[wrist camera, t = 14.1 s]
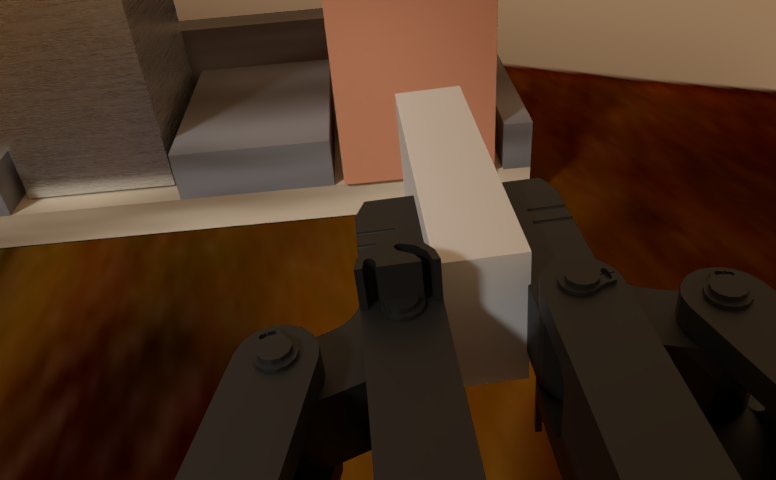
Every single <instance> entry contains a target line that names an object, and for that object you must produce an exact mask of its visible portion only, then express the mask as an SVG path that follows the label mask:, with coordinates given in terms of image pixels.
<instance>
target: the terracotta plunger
mask: <svg viewBox="0 0 776 480" xmlns="http://www.w3.org/2000/svg"><path fill="white" fill-rule="evenodd" d="M322 7H323V15H324V23H325V31H326V39H327V47H328V55H329V63H330V71H331V79H332V87H333V95H334V103H335V111H336V119H337V127H338V135H339V143H340V151H341V159H342V167H343V175H344V184H345V185H347V184H358V183H368V182H379V181H390V180H400V179H403V173H402V162H401V152H400V142H399V132H398V122H397V112H396V102H395V94H397V93H405V92H413V91H421V90H429V89H437V88H445V87H453V86H460V88H461V90H462V93H463V95H464V97H465V99H466V102H467V104H468V106H469V109H470V111H471V113H472V116H473V118H474V120H475V122H476V125H477V127H478V129H479V132H480V134H481V136H482V139H483V141H484V143H485V145H486V148H487V150H488V152H489V155H490V157H491V159H492V162H493V164H494V161H495V117H496V72H497V27H498V24H497V23H498V0H322Z"/></svg>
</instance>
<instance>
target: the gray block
mask: <svg viewBox="0 0 776 480" xmlns="http://www.w3.org/2000/svg"><path fill="white" fill-rule="evenodd" d="M194 89H195V85H194V81H193V77H192V72H191V68H190V64H189V60H188V56H187V52H186V48H185V44H184V40H183V36H182V32H181V28H180V24H179V20H178V16H177V12H176V8H175V5H174V0H0V134H1V136H2V138H3V140H4V143H5V145H6V147H7V149H8V152H9V154H10V156H11V158H12V161H13V163H14V165H15V168H16V170H17V172H18V174H19V177H20V179H21V181H22V183H23V186H24V188H25V190H26V192H27V195H28V197H29V199H30V198H40V197H51V196H62V195H73V194H83V193H94V192H105V191H115V190H126V189H137V188H147V187H158V186H169V185H175V184H176V182H175V178H174V175H173V171H172V168H171V164H170V161H169V158H168V154H169V152H170V149H171V147H172V144H173V142H174V139H175V137H176V134H177V132H178V129H179V127H180V124H181V122H182V119H183V117H184V114H185V112H186V109H187V107H188V104H189V102H190V99H191V97H192V94H193V92H194Z"/></svg>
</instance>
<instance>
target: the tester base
mask: <svg viewBox="0 0 776 480" xmlns="http://www.w3.org/2000/svg"><path fill="white" fill-rule="evenodd" d="M179 24H180V28H181V32H182V36H183V40H184V44H185V48H186V52H187V56H188V60H189V64H190V68H191V72H192V77H193V81H194V85H195V89H194V92H193V94H192V97H191V99H190V102H189V104H188V107H187V109H186V112H185V114H184V117H183V119H182V122H181V124H180V127H179V129H178V132H177V134H176V137H175V139H174V142H173V144H172V147H171V149H170V152H169V154H168V158H169V161H170V164H171V168H172V171H173V175H174V178H175V182H176V184H175V185H169V186H158V187H147V188H137V189H126V190H115V191H105V192H94V193H83V194H73V195H62V196H51V197H40V198H30V199H29V197H28V195H27V192H26V190H25V188H24V186H23V183H22V181H21V179H20V177H19V174H18V172H17V170H16V168H15V165H14V163H13V161H12V158H11V156H10V154H9V152H8V149H7V147H6V145H5V143H4V140H3V138H2V136H1V134H0V248H7V247H17V246H28V245H38V244H49V243H60V242H70V241H81V240H91V239H102V238H113V237H123V236H134V235H145V234H155V233H166V232H176V231H187V230H198V229H208V228H219V227H229V226H240V225H251V224H261V223H272V222H282V221H293V220H304V219H314V218H325V217H335V216H346V215H357V213H358V211H359V210H360V208H361V206H362V205H363V203H364V202H366V201H374V200H381V199H389V198H397V197H405V193H404V183H403V179H400V180H390V181H379V182H368V183H358V184H347V185H345V184H344V175H343V167H342V159H341V151H340V143H339V135H338V127H337V119H336V111H335V103H334V95H333V87H332V79H331V71H330V63H329V55H328V47H327V39H326V31H325V23H324V15H323V8H319V9H309V10H299V11H298V10H297V11H286V12H276V13H264V14H255V15H242V16H232V17H221V18H210V19H199V20H188V21H179ZM532 129H533V121H532V119H531V117H530V115H529V113H528V112H527V110H526V108H525V106H524V104H523V102H522V100H521V98H520V96H519V94H518V93H517V91H516V89H515V87H514V85H513V83H512V81H511V79H510V77H509V75H508V74H507V72H506V70H505V68H504V66H503V64H502V62H501V60H500V58H499V57H498V55H497V72H496V117H495V161H494V166H495V168H496V171H497V173H498V175H499V178H500V180H501V182H508V181H516V180H524V179H530V164H531V146H532Z"/></svg>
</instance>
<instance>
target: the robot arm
mask: <svg viewBox="0 0 776 480" xmlns="http://www.w3.org/2000/svg"><path fill="white" fill-rule="evenodd" d="M395 102H396V112H397V122H398V132H399V142H400V152H401V162H402V173H403V183H404V193H405V197H397V198H389V199H381V200H374V201H366V202H364V203H363V205H362V206H361V208H360V210H359V211H358V213H357V215H356V216H355V222H356V234H357V247H358V258H357V259H356V263H355V267H354V274H355V280H356V286H357V293H358V299H359V305H360V306H359V308H358V310H357V312H356V313H355V314H354V315H353V317H352V318H351V319H350V320H349V321H347V322H346V323H345V324H343V325H342V326H340V327H338V328H336V329H334V330H332V331H330V332H328V333H325V334H322V335H320V336H317V337H315V336H314V334H312V333H310V332H309V331H307V330H306V329H304V328H302V327H297V326H292V325H280V326H271V327H268V328H266V329H263V330H260V331H258V332H255V333H254V334H252V335H251V336H249V337H248V338H247V339H245V340H244V341H242V343H241V344H240V345H239V347H238V348H237V349H236V351H235V352H234V354H233V356H232V358H231V360H230V362H229V364H228V366H227V369H226V371H225V373H224V375H223V377H222V379H221V381H220V384H219V386H218V388H217V390H216V392H215V394H214V396H213V399H212V401H211V403H210V405H209V407H208V409H207V412H206V414H205V416H204V418H203V420H202V422H201V424H200V427H199V429H198V431H197V433H196V435H195V437H194V439H193V442H192V444H191V446H190V448H189V450H188V452H187V454H186V457H185V459H184V461H183V463H182V465H181V467H180V469H179V472H178V474H177V476H176V478H175V480H340V479H341V475H342V471H343V462H345V461H347V460H349V459H351V458H354V457H356V456H358V455H361V454H363V453H365V452H367V451H370V450H372V460H373V473H374V480H486V477H485V473H484V468H483V464H482V460H481V456H480V451H479V447H478V443H477V439H476V435H475V430H474V426H473V422H472V418H471V413H470V409H469V405H468V401H467V397H466V392H465V388H464V386H471V385H479V384H486V383H494V382H501V381H509V380H517V379H524V378H529V358H530V361H531V364H532V366H533V369H534V372H535V375H536V393H535V432H539V431H542V420H543V423H544V426H545V429H546V432H547V435H548V438H549V441H550V444H551V447H552V450H553V453H554V456H555V459H556V462H557V465H558V468H559V470H560V473H561V476H562V479H563V480H776V291H775V290H774V289H773V288H771V287H770V286H769V285H767V284H766V283H765V282H763V281H761V280H760V279H758V278H756V277H754V276H753V275H751V274H749V273H746V272H742V271H739V270H736V269H732V268H721V267H710V268H703V269H698V270H696V271H694V272H692V273H690V274H688V275H686V276H685V278H684V279H683V281H682V282H681V284H680V288H679V291H674V290H663V289H651V288H644V287H638V286H634V285H630V284H627V282H626V281H625V279H624V277H623V276H622V275H621V274H620V273H619V272H618V271H617V270H616V269H615V268H614V267H612V266H610V265H608V264H606V263H604V262H603V261H600V260H596V259H595V257H594V255H593V253H592V251H591V250H590V248H589V246H588V244H587V242H586V241H585V239H584V237H583V235H582V233H581V232H580V230H579V228H578V226H577V224H576V223H575V221H574V220H572V215H571V214H570V212H569V210H568V208H567V207H565V203H564V201H563V199H562V197H561V196H560V194H559V192H558V190H557V189H556V188H554V187H553V186H551V185H550V184H548V183H547V182H545V181H544V180H542V179H541V178H532V179H524V180H516V181H508V182H501V180H500V178H499V175H498V173H497V171H496V168H495V166H494V164H493V162H492V159H491V157H490V155H489V152H488V150H487V148H486V145H485V143H484V141H483V139H482V136H481V134H480V132H479V129H478V127H477V125H476V122H475V120H474V118H473V116H472V113H471V111H470V109H469V106H468V104H467V102H466V99H465V97H464V95H463V93H462V90H461V88H460V86H453V87H445V88H437V89H429V90H421V91H413V92H405V93H397V94H395Z"/></svg>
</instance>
